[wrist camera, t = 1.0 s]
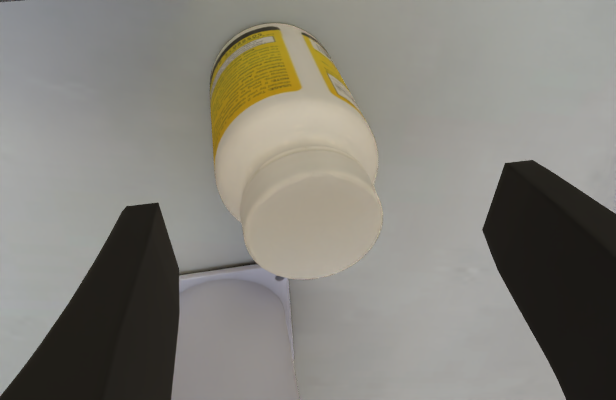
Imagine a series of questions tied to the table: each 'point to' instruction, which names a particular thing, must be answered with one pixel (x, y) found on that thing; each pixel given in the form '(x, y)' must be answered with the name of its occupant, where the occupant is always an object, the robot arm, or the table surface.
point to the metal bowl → (9, 0)
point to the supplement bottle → (293, 153)
